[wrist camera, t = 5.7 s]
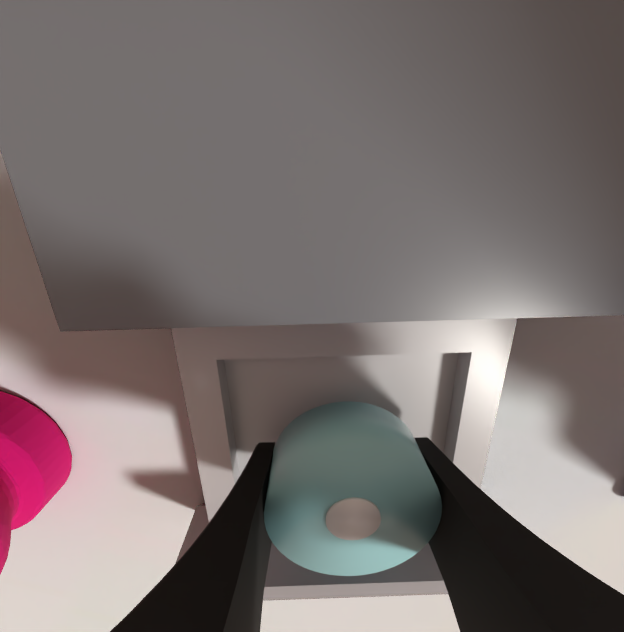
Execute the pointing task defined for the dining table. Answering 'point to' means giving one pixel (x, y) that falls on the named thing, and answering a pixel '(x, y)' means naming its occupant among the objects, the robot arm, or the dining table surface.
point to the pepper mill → (27, 464)
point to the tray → (338, 386)
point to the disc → (350, 491)
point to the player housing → (317, 159)
